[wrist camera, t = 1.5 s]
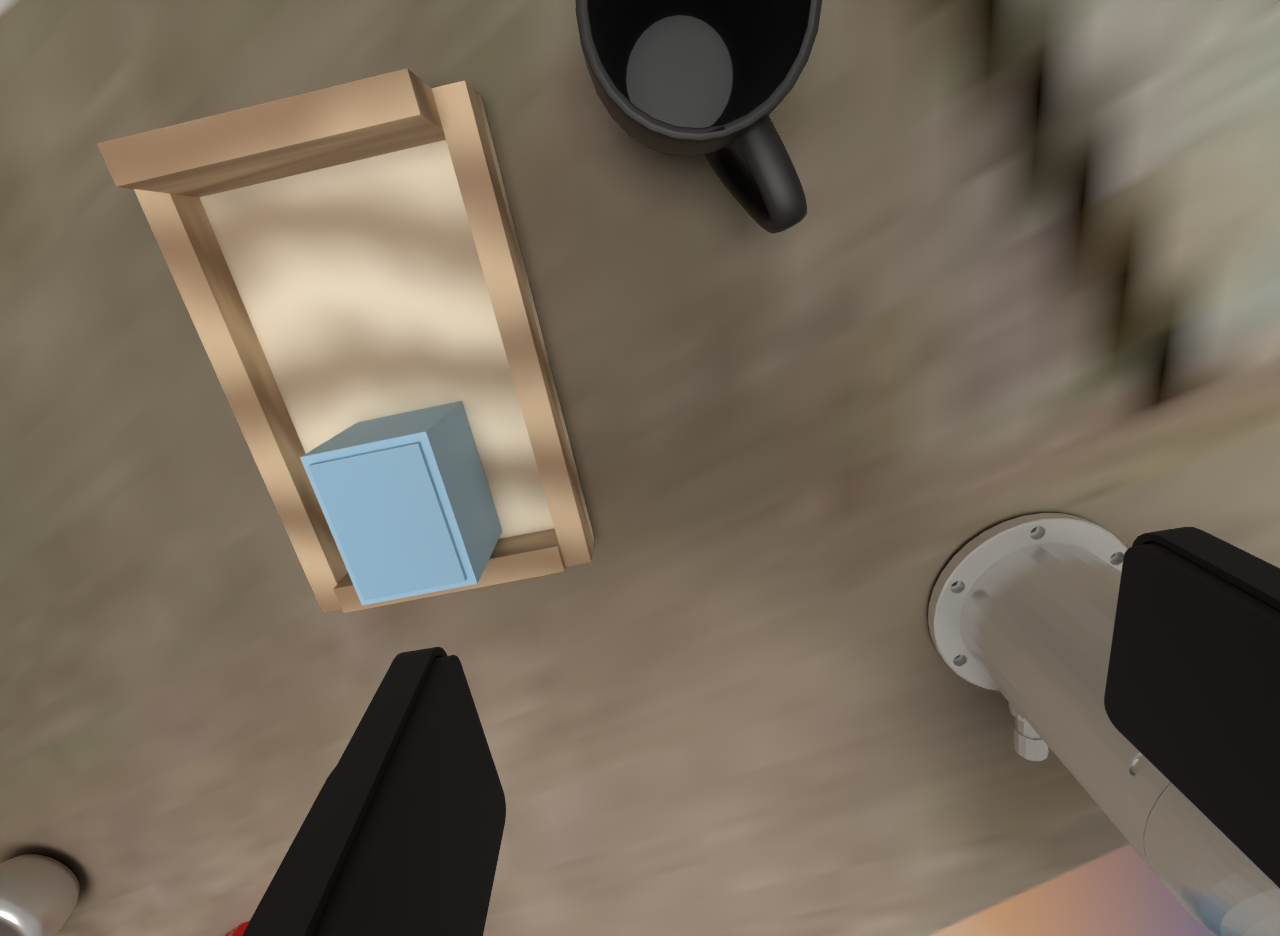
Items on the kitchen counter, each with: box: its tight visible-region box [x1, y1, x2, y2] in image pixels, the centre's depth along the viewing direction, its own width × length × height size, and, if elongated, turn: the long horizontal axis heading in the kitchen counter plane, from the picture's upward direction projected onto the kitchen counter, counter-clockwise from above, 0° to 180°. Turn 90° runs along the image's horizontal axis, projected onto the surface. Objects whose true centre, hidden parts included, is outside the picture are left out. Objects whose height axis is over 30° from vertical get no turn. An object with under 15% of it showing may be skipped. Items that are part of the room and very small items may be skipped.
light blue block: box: [300, 401, 502, 606], centre depth 31 cm, size 8×6×6 cm
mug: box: [576, 0, 822, 233], centre depth 25 cm, size 8×12×10 cm
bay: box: [97, 69, 594, 613], centre depth 31 cm, size 24×16×6 cm, turn 12°
